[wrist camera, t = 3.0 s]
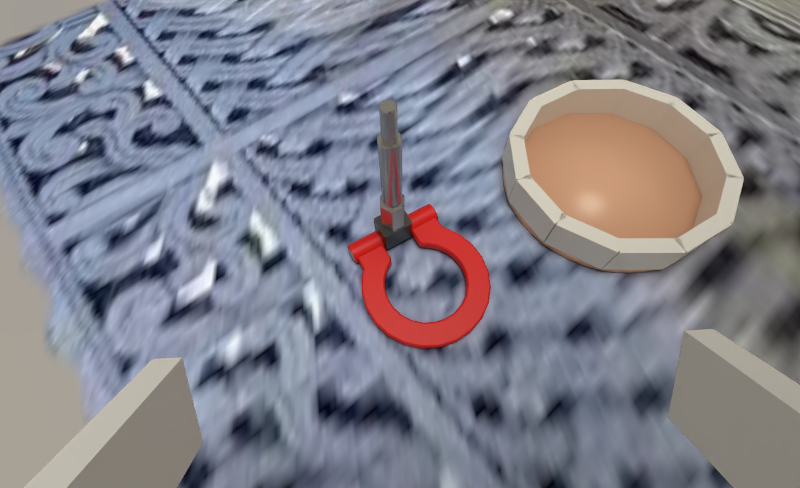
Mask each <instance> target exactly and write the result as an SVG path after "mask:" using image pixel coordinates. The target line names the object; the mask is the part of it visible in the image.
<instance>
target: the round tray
mask: <svg viewBox="0 0 800 488" xmlns="http://www.w3.org/2000/svg"><path fill="white" fill-rule="evenodd" d="M676 98H677V97H674V96H671V95H668V94H665V93H662V92H659V91H656V90H653V89H650V88H647V87H644V86H641V85H638V84H635V83H632V82H629V81H626V80H624V81H623V80H572V81H569V82H567V83H565V84H563V85H560V86H558V87H556V88H554V89H552V90H550V91H547V92H545V93H543V94H541V95H539V96H537V97H534V98H532V99H531V100H530V101H529V103H528V104H527V106H526V107H525V109H524V111H523V112H522V114H521V116H520V117H519V119H518V121H517V122H516V124H515V126H514V127H513V129H512V131H511V132H510V134H509V137H508V140H507V143H506V147H505V150H504V153H503V156H502V161H503V184H504V189H505V193H506V196H507V199H508V201H509V204H510V206H511V208H512V209H513V211H514V213H515V215H516V216H517V218H518V219H519V220H520V222H521V223H522V225H523V226H524V227H525V228H526V229H527V230H528V231H529V232H530V233H531V234H532V235H533V236H534V237H535V238H536V239H537V240H539V241H540V242H541V243H542V244H543V245H545V246H546V247H548V248H549V249H551V250H552V251H554V252H555V253H557V254H559V255H561V256H563V257H564V258H566V259H568V260H571V261H573V262H576V263H578V264H580V265H583V266H587V267H590V268H594V269H597V270H602V271H608V272H616V273H638V272H646V271H651V270H662V269H665V268H666V267H668V266H669V265H671V264H673V263H674V262H676V261H678V260H680V259H681V258H683V257H684V256H685V255H687V254H689V253H690V252H692V251H693V250H695V249H697V248H698V247H700V246H701V245H703V244H705V243H706V242H707V241H709V240H710V239H712V238H713V237H715V236H716V235H718V234H719V233H720V232H722V231H723V230H725V229H726V228H728V227H729V226H730V225H732V224H733V222H734V217H735V213H736V209H737V205H738V201H739V197H740V193H741V189H742V184H743V180H744V179H743V178H744V177H743V175H742V173H741V171H740V169H739V167H738V165H737V163H736V161H735V159H734V157H733V155H732V153H731V150H730V148H729V146H728V144H727V142H726V140H725V138H724V136H723V134H722V133H720V132H721V131H719V130H718V129H717V128H716V127H714V126H713V125H712V124H710V123H709V122H708V121H707V120H705V119H704V118H703V117H702V116H700V115H699V114H698V113H696V112H695V111H694V110H693V109H691V108H690V107H689V106H688V105H686V104H685V103H684V102H682V101H681V100H680V99H679V98H677V99H676Z"/></svg>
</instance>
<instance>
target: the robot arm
mask: <svg viewBox="0 0 800 488" xmlns="http://www.w3.org/2000/svg"><path fill="white" fill-rule="evenodd" d="M668 418H669V419H670V420H671V421H672V422H673V423H674V424H675V425H676V426H677V427H678V428H679V430H680V431H681V432H682V433H683V434H684V435H685V436H686V437H687V438H688V439H689V440H690V441H691V442H692V443H693V445H694V446H695V447H696V448H697V449H698V450H699V451H700V452H701V453H702V454H703V455H704V456H705V457H706V458H707V460H708V461H709V462H710V463H711V464H712V465H713V466H714V467H715V468H716V469H717V470H718V471H719V472H720V473H721V475H722V476H723V477H724V478H725V479H726V480H727V481H728V482H729V483H730V484H731V485H732V486H733V487H734V488H800V385H799V384H798V383H796V382H795V381H793V380H791V379H790V378H788V377H787V376H785V375H784V374H782V373H781V372H779V371H777V370H776V369H774V368H773V367H771V366H770V365H768V364H767V363H765V362H764V361H762V360H760V359H759V358H757V357H756V356H754V355H753V354H751V353H750V352H748V351H747V350H745V349H743V348H742V347H740V346H739V345H737V344H736V343H734V342H733V341H731V340H730V339H728V338H726V337H725V336H723V335H722V334H720V333H719V332H717V331H716V330H714V329H705V330H686V331H684V335H683V340H682V345H681V351H680V356H679V361H678V367H677V372H676V377H675V383H674V388H673V394H672V399H671V404H670V410H669V415H668ZM202 444H203V440H202V436H201V432H200V428H199V424H198V420H197V415H196V411H195V407H194V403H193V399H192V395H191V391H190V387H189V383H188V379H187V375H186V371H185V367H184V363H183V359H182V358H164V359H152V360H151V361H150V362H149V363H148V364H147V365H146V366H145V367H144V368H143V369H142V370H141V371H140V372H139V373H138V374H137V375H136V376H135V377H134V378H133V379H132V380H131V381H130V382H129V383H128V384H127V385H126V386H125V387H124V388H123V389H122V390H121V391H120V392H119V393H118V394H117V395H116V396H115V397H114V398H113V399H112V400H111V401H110V402H109V403H108V404H107V405H106V406H105V407H104V408H103V409H102V410H101V411H100V412H99V413H98V414H97V415H96V416H95V417H94V418H93V419H92V420H91V421H90V422H89V423H88V424H87V425H86V426H85V427H84V428H83V429H82V430H81V431H80V432H79V433H78V434H77V435H76V436H75V437H74V438H73V439H72V440H71V441H70V442H69V443H68V444H67V445H66V446H65V447H64V448H63V449H62V450H61V451H60V452H59V453H58V454H57V455H56V456H55V457H54V458H53V459H52V460H51V461H50V462H49V463H48V464H47V465H46V466H45V467H44V468H43V469H42V470H41V471H40V472H39V473H38V474H37V475H36V476H35V477H34V478H33V479H32V480H31V481H30V482H29V483H28V484H27V485H26V486H25V487H24V488H177V486H178V485H179V483H180V481H181V479H182V478H183V476H184V474H185V473H186V471H187V469H188V468H189V466H190V464H191V462H192V461H193V459H194V457H195V456H196V454H197V452H198V451H199V449H200V447H201V445H202Z"/></svg>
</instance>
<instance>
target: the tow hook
mask: <svg viewBox="0 0 800 488" xmlns="http://www.w3.org/2000/svg"><path fill="white" fill-rule="evenodd" d="M379 112H380V126H381V133H380V134H379V135H378V137H377V144H378V155H379V167H380V178H381V190H382V195H381V196H380V210H381V215H380V216H378V217H376V218H374V224H375V232H373V233H371V234H369V235H367V236H365V237H363V238H361V239H359V240H358V241H356V242H354V243H352V244H350V245H348V250H349V253H350V255H351V257H352V258H353V260H354V261H355V262H356V263H360V265H361V267H362V268H363V270H364V271H363V275H362V294H363V298H364V301H365V305H366V308H367V311H368V313H369V314H370V316H371V318H372V319H373V321H374V323H375V324H376V326H378V327H379V328H380V329H381V330H382V331H383V332H384V333H385V334H386V335H387V336H388V337H390V338H392V339H394V340H396V341H398V342H400V343H402V344H403V345H407V346H411V347H416V348H420V349H426V348H440V347H443V346H446V345H449V344H452V343H455V342H457V341H458V340H460V339H461V338H463V337H464V336H466V335H467V334H469V333H470V332H471V331H472V330H473V328H474V327H475V326H476V325H477V324H478V322H479V321H480V320H481V319H482V317H483V314H484V312H485V310H486V307H487V305H488V303H489V295H490V288H491V286H490V279H489V273H488V269H487V267H486V265H485V262H484V260H483V258H482V256H481V255H480V253H479V252H478V251H477V250H476V248H475V247H474V246H473V245H472V244H471V243H470V242H469V241H468V240H466V239H465V238H464V237H462V236H461V235H460V234H458V233H456V232H453V231H451V230H449V229H447V228H444V227H442V226H441V224H440V223H439V221H438V216H437V213H436V211H435V209H434V208H433V207H432V206H431V205H430V204H428V205H426V206H424V207H422V208H420V209H418V210H416V211H414V212H412V213H410V214H408V215H407V213H406V212H405V210H404V195H403V194H402V136H401V134H400V133H399V132H398V126H397V104H396V103H395V102H394V101H392V100H385V101H383V102H381V103H380V105H379ZM411 236H413V238H414V239H415V241H416V242H417V244H418V245H419V246H420V247H422V248H432V249H437V250H440V251H442V252H444V253H446V254H448V255H449V256H450V257H451V258H453V259H454V260H455V261H456V262H457V264H458V265H459V266H460V268H461V269H462V272H463V274H464V277H465V282H466V293H465V298H464V301H463V303H462V305H461V306H460V307H459V308H458V309H457V311H456V312H455V313H454V314H452V315H451V316H449V317H447V318H446V319H443V320H440V321H437V322H430V323H422V322H417V321H413V320H410V319H408V318H406V317H404V316H402V315H401V314H400V313H399V312H398V311H397V310H396V309H394V307H393V306H392V304H391V303H390V301H389V300H388V298H387V294H386V291H385V279H386V274H387V271H388V269H389V268H390V266H391V258H390V256H389V254H388V253H387V251H386V250H387V249H389V248H391V247H393V246H395V245H397V244H399V243H400V242H402V241H404V240H406V239H408V238H410V237H411Z"/></svg>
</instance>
